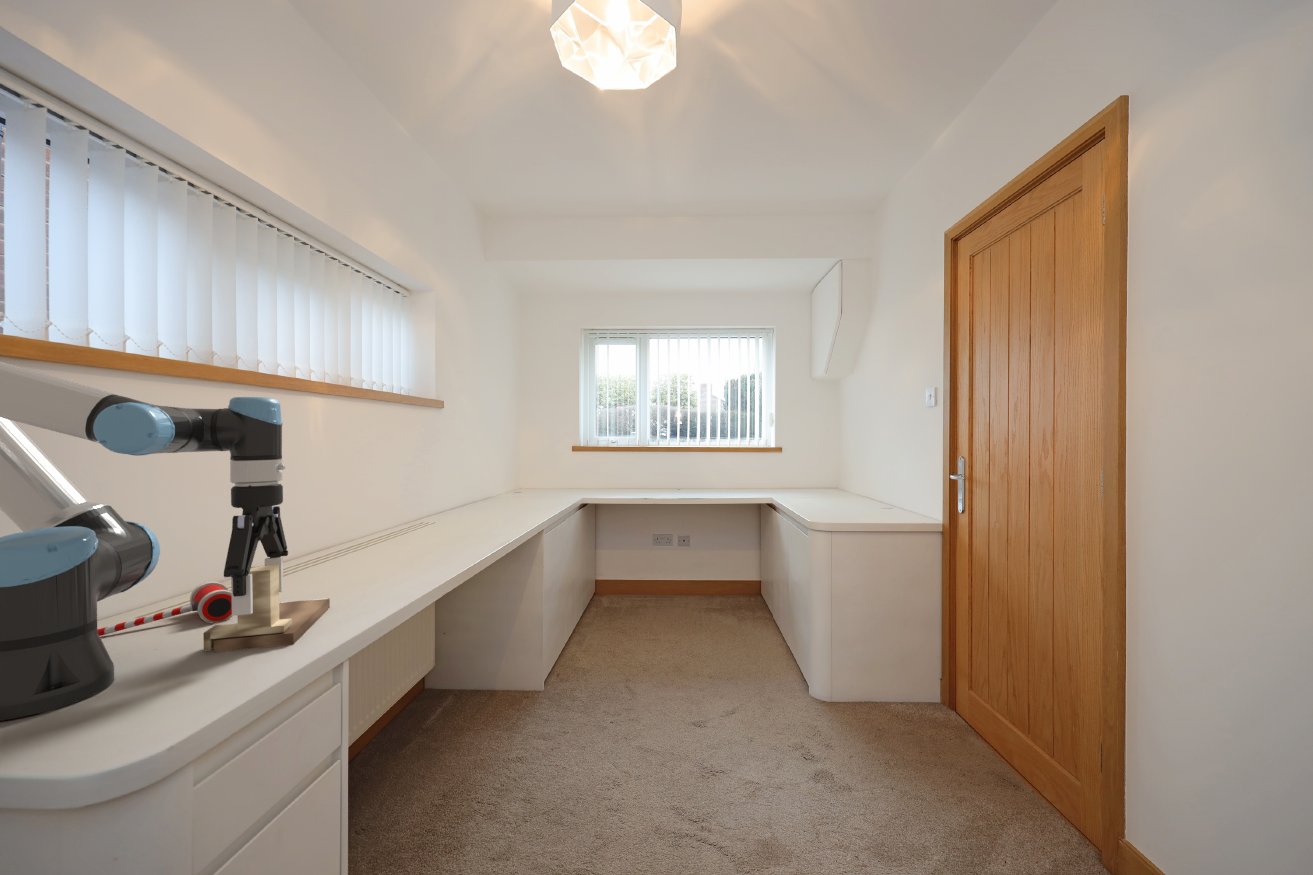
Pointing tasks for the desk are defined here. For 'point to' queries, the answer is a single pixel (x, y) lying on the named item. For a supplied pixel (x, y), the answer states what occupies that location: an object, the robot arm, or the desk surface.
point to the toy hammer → (190, 608)
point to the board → (302, 620)
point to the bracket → (255, 610)
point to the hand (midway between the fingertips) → (259, 602)
